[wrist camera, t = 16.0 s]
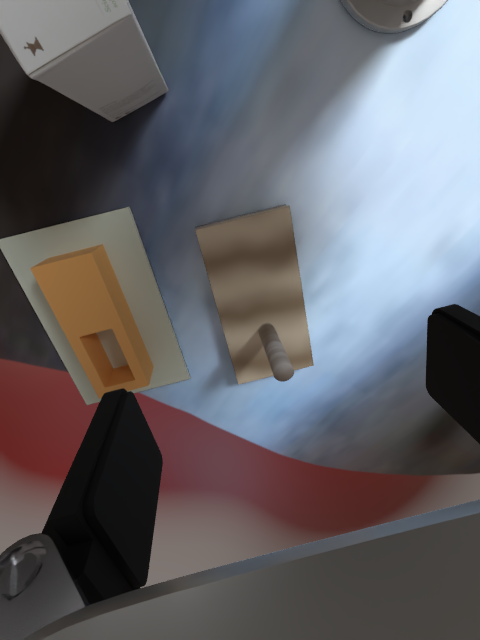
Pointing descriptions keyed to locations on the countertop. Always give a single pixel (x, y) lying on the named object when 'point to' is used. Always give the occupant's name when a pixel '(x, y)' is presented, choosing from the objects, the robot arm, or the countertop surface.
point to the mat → (134, 281)
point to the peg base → (258, 292)
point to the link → (94, 316)
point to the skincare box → (84, 52)
